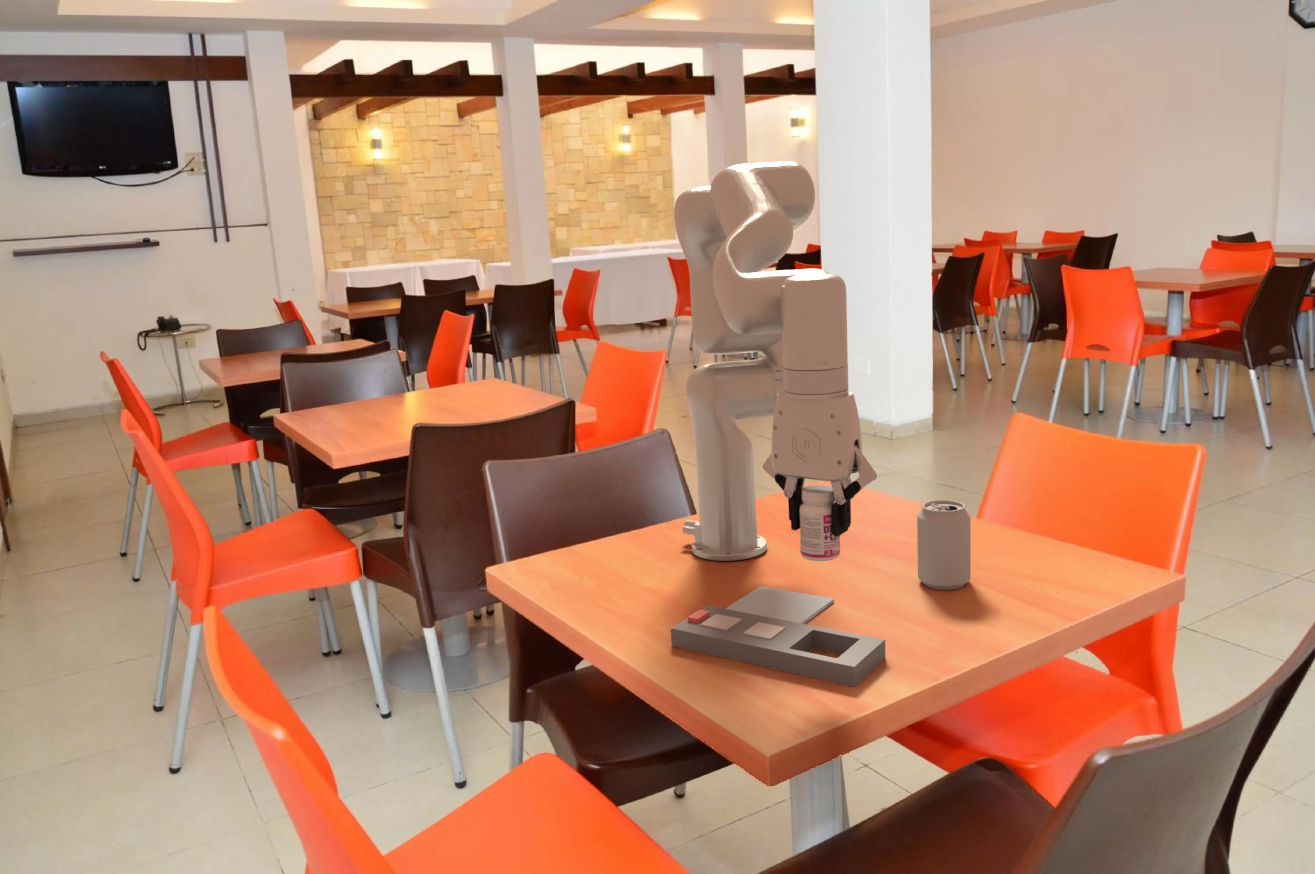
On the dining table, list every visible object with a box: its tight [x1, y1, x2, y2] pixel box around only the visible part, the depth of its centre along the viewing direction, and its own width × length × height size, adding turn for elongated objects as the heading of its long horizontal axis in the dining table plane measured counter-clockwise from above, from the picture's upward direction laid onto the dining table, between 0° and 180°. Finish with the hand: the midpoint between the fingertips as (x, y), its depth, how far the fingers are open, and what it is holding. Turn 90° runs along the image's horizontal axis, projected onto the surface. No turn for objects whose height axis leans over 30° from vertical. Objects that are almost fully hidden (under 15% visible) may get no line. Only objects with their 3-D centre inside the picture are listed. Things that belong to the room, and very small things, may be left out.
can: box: [916, 499, 972, 591], centre depth 151 cm, size 8×8×12 cm
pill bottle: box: [799, 484, 841, 562], centre depth 125 cm, size 5×5×8 cm
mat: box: [724, 585, 835, 624], centre depth 147 cm, size 12×12×1 cm
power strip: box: [670, 605, 886, 688], centre depth 132 cm, size 26×9×3 cm, turn 55°
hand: (819, 528), depth 125 cm, fingers closed on pill bottle, 4 cm apart
